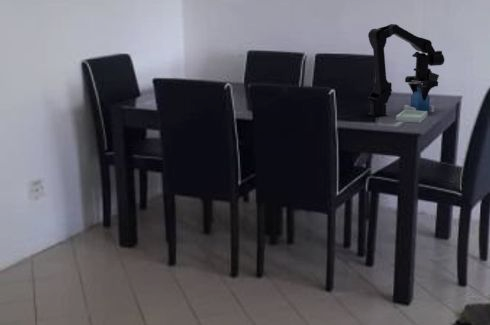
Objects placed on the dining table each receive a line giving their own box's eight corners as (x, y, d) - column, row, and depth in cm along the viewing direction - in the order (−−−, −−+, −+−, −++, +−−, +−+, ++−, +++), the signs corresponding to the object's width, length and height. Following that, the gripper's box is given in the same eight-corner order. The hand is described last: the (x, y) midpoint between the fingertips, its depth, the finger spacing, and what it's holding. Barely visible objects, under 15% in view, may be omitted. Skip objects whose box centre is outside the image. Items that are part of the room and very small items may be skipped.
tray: (420, 122, 285) (420, 117, 285) (395, 120, 290) (396, 115, 289) (427, 116, 299) (427, 111, 299) (404, 114, 304) (404, 109, 303)
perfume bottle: (410, 109, 312) (411, 84, 309) (421, 108, 314) (422, 83, 311) (417, 111, 306) (419, 86, 303) (429, 110, 309) (430, 85, 305)
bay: (414, 113, 306) (414, 108, 305) (403, 110, 314) (403, 105, 313) (433, 111, 309) (434, 106, 308) (422, 108, 317) (422, 103, 317)
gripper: (448, 67, 299) (446, 101, 303) (424, 63, 316) (423, 95, 320) (428, 68, 295) (426, 102, 300) (405, 64, 312) (403, 96, 316)
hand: (420, 99), depth 309 cm, fingers closed on perfume bottle, 6 cm apart
